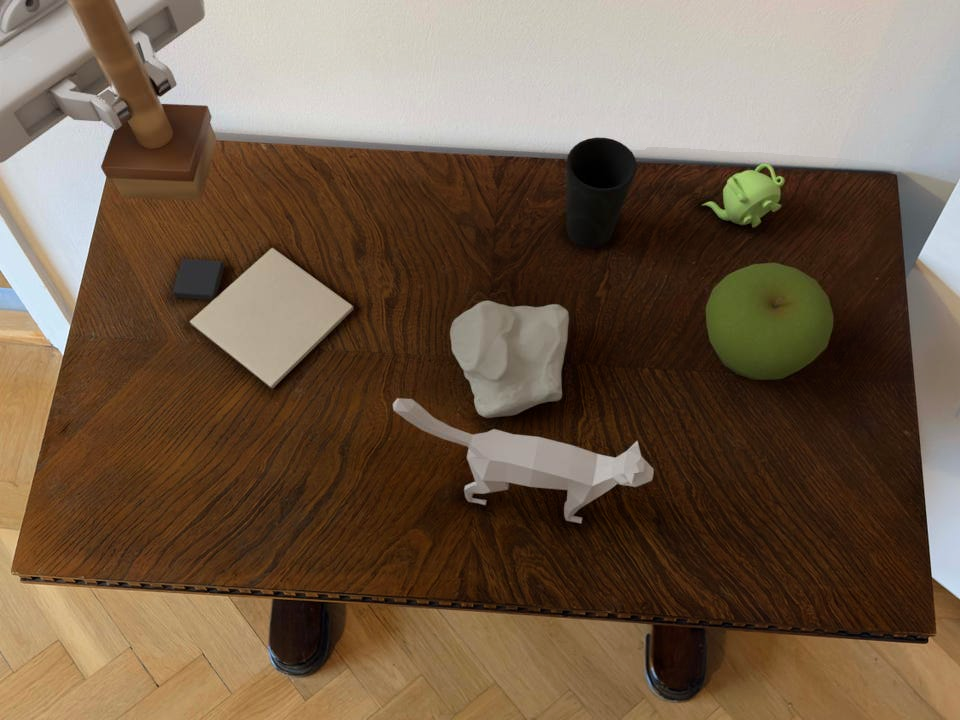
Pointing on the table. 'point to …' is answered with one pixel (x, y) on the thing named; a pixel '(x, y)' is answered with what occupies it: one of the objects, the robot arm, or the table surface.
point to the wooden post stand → (146, 117)
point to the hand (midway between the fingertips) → (144, 100)
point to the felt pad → (198, 279)
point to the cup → (597, 189)
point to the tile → (271, 317)
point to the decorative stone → (511, 355)
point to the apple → (768, 320)
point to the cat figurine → (534, 462)
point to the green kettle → (749, 196)
